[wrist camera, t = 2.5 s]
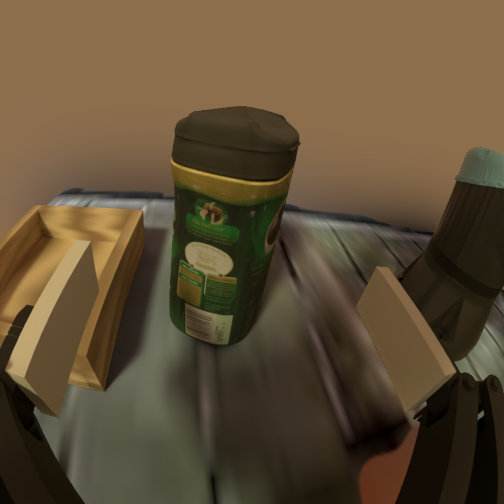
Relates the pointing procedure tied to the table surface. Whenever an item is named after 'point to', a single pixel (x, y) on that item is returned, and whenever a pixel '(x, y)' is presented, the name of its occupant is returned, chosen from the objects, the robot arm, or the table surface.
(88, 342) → the pine crate
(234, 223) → the coffee jar
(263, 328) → the table surface
